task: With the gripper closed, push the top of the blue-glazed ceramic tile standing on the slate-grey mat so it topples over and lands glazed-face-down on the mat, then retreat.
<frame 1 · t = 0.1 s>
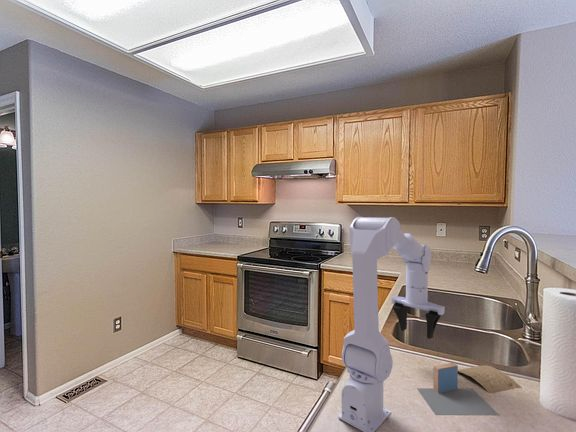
hand: (416, 333, 88), 10 cm above the worktop, fingers open, 7 cm apart
tile: (445, 389, 77), resting on mat
clay tablet: (484, 383, 82), on the worktop
mat: (455, 402, 72), on the worktop
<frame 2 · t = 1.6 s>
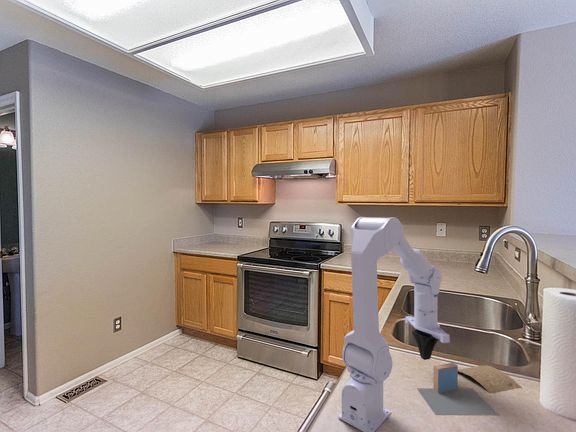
hand: (425, 358, 83), 5 cm above the worktop, fingers closed
nothing on the worktop moved.
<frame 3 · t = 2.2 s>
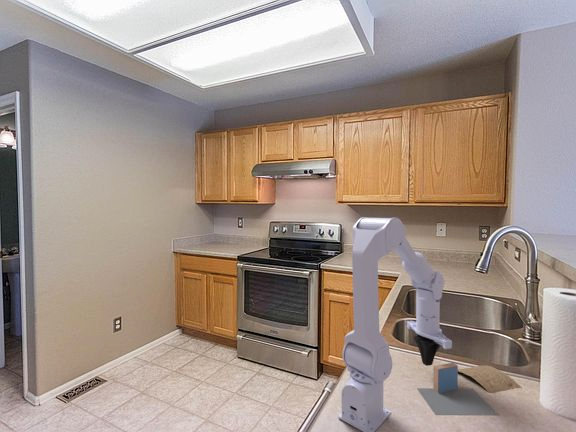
hand: (427, 364, 83), 4 cm above the worktop, fingers closed
nothing on the worktop moved.
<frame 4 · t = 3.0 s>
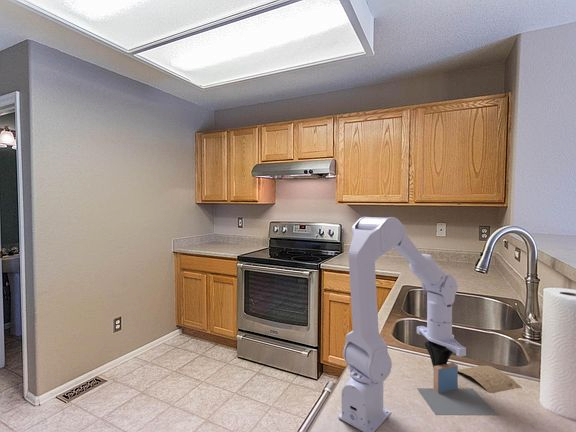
hand: (439, 371, 79), 4 cm above the worktop, fingers closed
tile: (445, 389, 77), resting on mat, touching gripper
everything else where it was.
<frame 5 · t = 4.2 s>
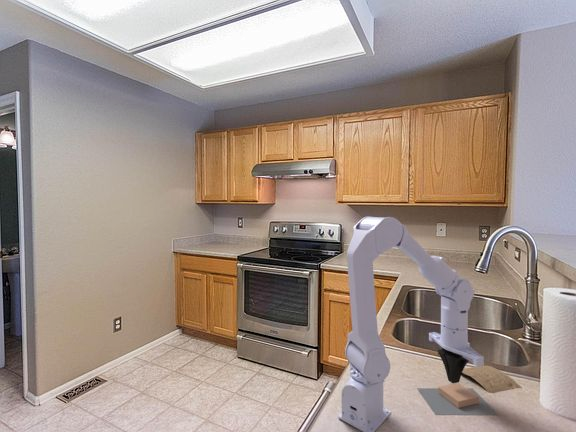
hand: (453, 381, 74), 4 cm above the worktop, fingers closed
tile: (448, 387, 76), point 1 cm above the worktop, tilted 90°, touching mat
everything else where it was.
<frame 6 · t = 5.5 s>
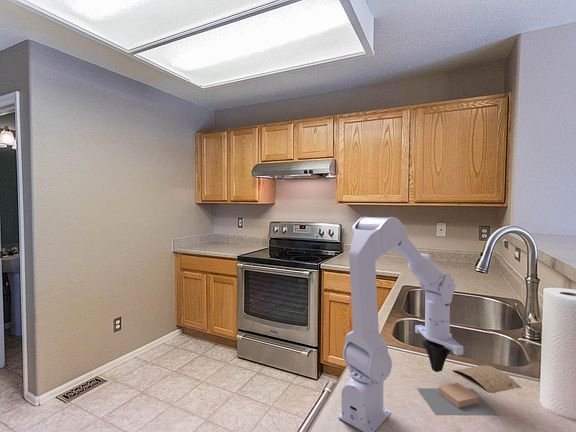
hand: (437, 370, 79), 4 cm above the worktop, fingers closed
nothing on the worktop moved.
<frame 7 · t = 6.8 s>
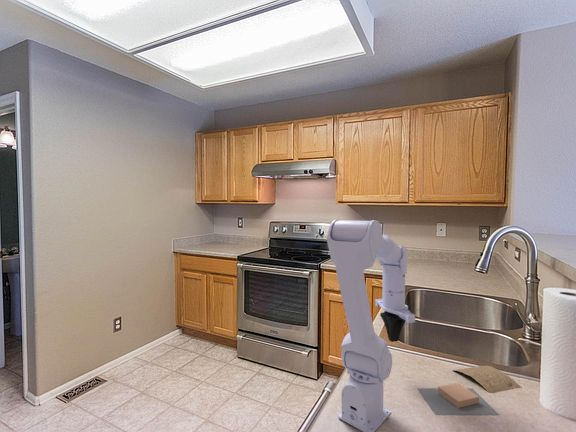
hand: (393, 340, 82), 10 cm above the worktop, fingers closed
nothing on the worktop moved.
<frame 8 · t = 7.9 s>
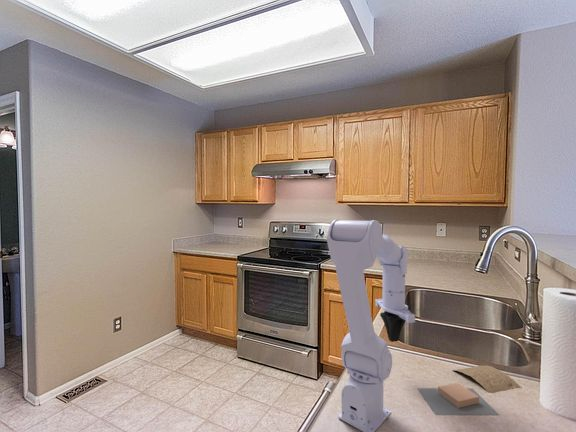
hand: (393, 340, 82), 10 cm above the worktop, fingers closed
nothing on the worktop moved.
at the end: tile tilted 90°; tile inside the target area (2.8 cm from its centre), point 1.3 cm above the worktop; the gripper is holding nothing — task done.
